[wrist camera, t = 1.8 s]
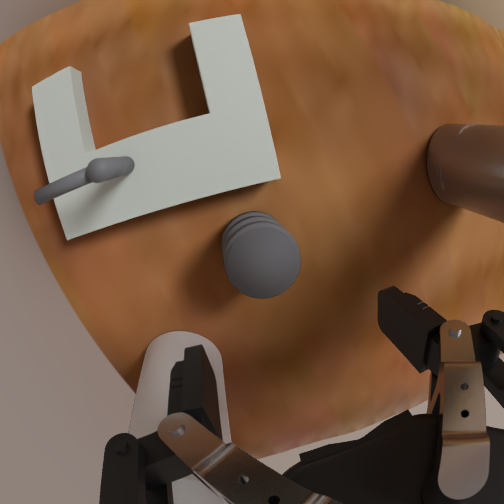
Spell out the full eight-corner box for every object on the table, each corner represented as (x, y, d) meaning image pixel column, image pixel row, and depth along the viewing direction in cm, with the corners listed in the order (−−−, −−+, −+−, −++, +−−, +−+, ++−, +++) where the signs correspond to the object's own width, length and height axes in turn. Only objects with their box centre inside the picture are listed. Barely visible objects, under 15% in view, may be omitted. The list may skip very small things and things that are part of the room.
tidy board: (237, 25, 19) (251, -25, 11) (273, 175, 24) (306, 187, 16) (44, 90, 18) (-9, 75, 10) (78, 232, 23) (31, 267, 15)
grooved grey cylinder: (275, 202, 25) (296, 218, 19) (287, 260, 27) (308, 289, 21) (214, 218, 24) (215, 239, 19) (229, 275, 26) (236, 309, 21)
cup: (135, 335, 27) (98, 472, 12) (215, 325, 28) (229, 472, 13) (157, 391, 30) (146, 514, 15) (227, 384, 30) (246, 511, 15)
